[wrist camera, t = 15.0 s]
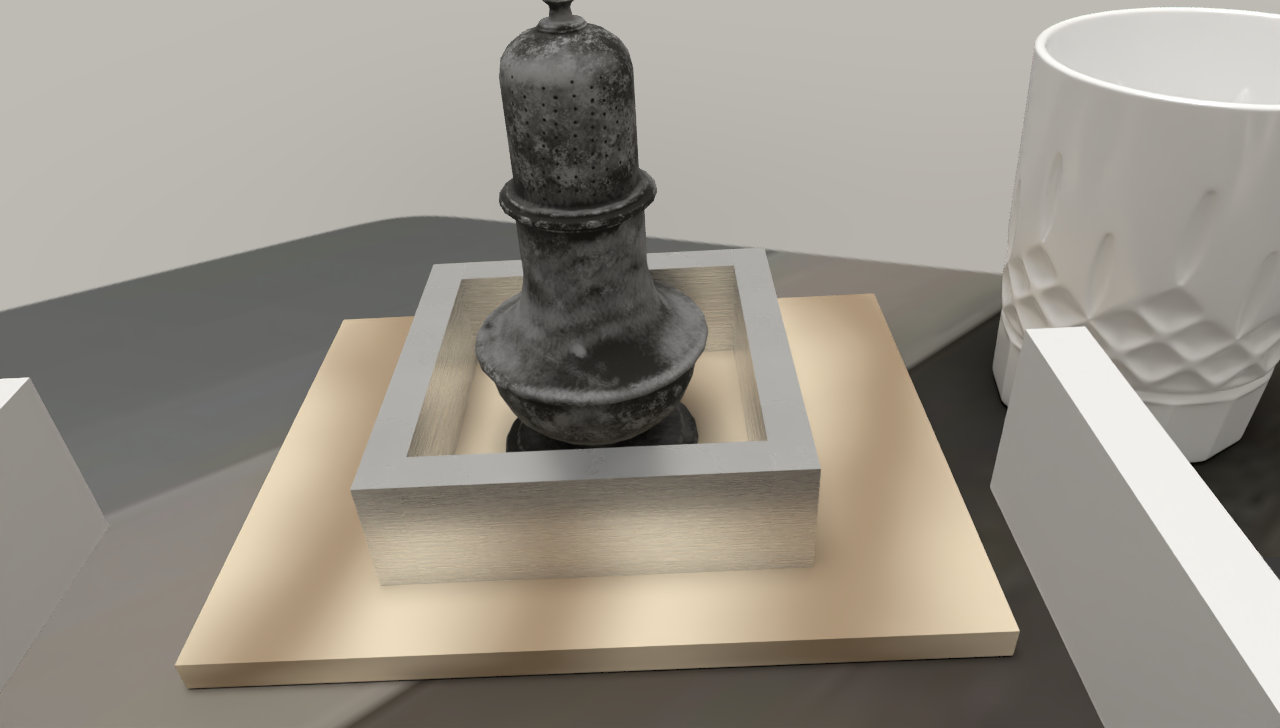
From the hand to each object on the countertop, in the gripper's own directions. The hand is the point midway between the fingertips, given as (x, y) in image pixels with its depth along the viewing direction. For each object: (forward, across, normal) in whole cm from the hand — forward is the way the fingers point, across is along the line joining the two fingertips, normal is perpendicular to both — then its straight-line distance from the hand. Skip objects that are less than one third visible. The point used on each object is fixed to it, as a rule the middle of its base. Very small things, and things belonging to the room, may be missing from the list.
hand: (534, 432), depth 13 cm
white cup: (+12, +15, -9) cm, 21 cm away
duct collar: (+10, 0, -8) cm, 13 cm away
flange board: (+10, 0, -9) cm, 13 cm away
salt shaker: (+10, 0, -8) cm, 13 cm away
